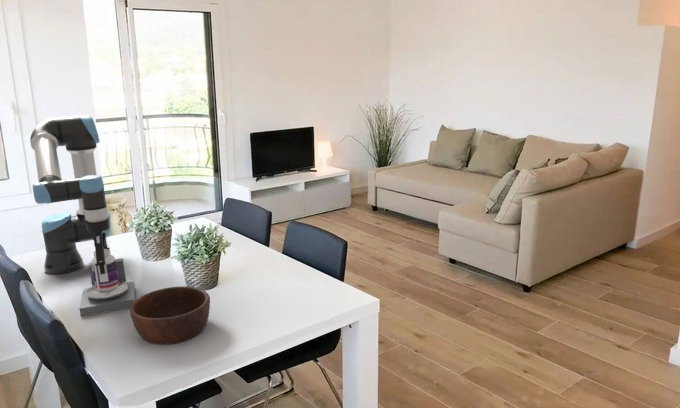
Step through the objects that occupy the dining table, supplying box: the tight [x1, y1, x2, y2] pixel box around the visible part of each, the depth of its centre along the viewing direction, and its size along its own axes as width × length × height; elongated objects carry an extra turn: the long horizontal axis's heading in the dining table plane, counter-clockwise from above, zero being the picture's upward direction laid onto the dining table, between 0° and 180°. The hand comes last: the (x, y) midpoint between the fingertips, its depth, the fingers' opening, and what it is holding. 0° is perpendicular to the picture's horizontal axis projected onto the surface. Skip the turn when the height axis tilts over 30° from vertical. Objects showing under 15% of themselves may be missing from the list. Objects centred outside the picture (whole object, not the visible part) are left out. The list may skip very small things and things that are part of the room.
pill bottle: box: [90, 248, 119, 291], centre depth 196 cm, size 8×8×14 cm
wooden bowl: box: [129, 286, 211, 346], centre depth 176 cm, size 25×25×10 cm
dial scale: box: [78, 257, 136, 317], centre depth 199 cm, size 21×18×12 cm
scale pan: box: [87, 281, 128, 300], centre depth 198 cm, size 14×14×2 cm
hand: (105, 274), depth 197 cm, fingers open, 13 cm apart
